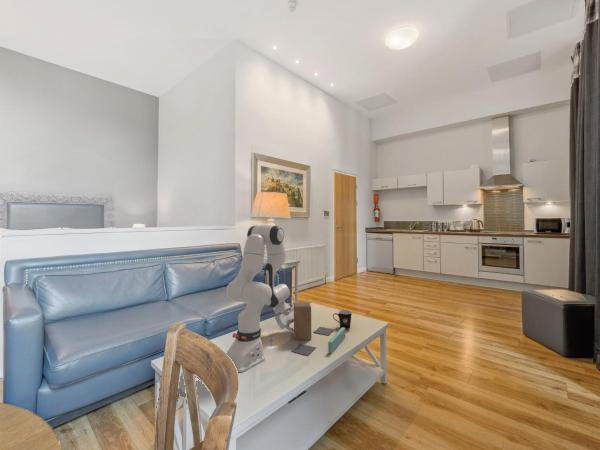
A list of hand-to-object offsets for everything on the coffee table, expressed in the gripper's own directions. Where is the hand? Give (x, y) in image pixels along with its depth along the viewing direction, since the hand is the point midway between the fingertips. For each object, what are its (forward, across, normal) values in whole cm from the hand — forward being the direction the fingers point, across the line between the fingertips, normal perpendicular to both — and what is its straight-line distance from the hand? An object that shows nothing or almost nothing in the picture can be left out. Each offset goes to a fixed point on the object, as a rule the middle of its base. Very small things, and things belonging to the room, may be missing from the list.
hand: (296, 328), depth 168 cm
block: (+6, 0, 0) cm, 6 cm away
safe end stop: (+22, 0, -16) cm, 27 cm away
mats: (+12, 0, -6) cm, 13 cm away
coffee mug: (+18, +27, -11) cm, 34 cm away
